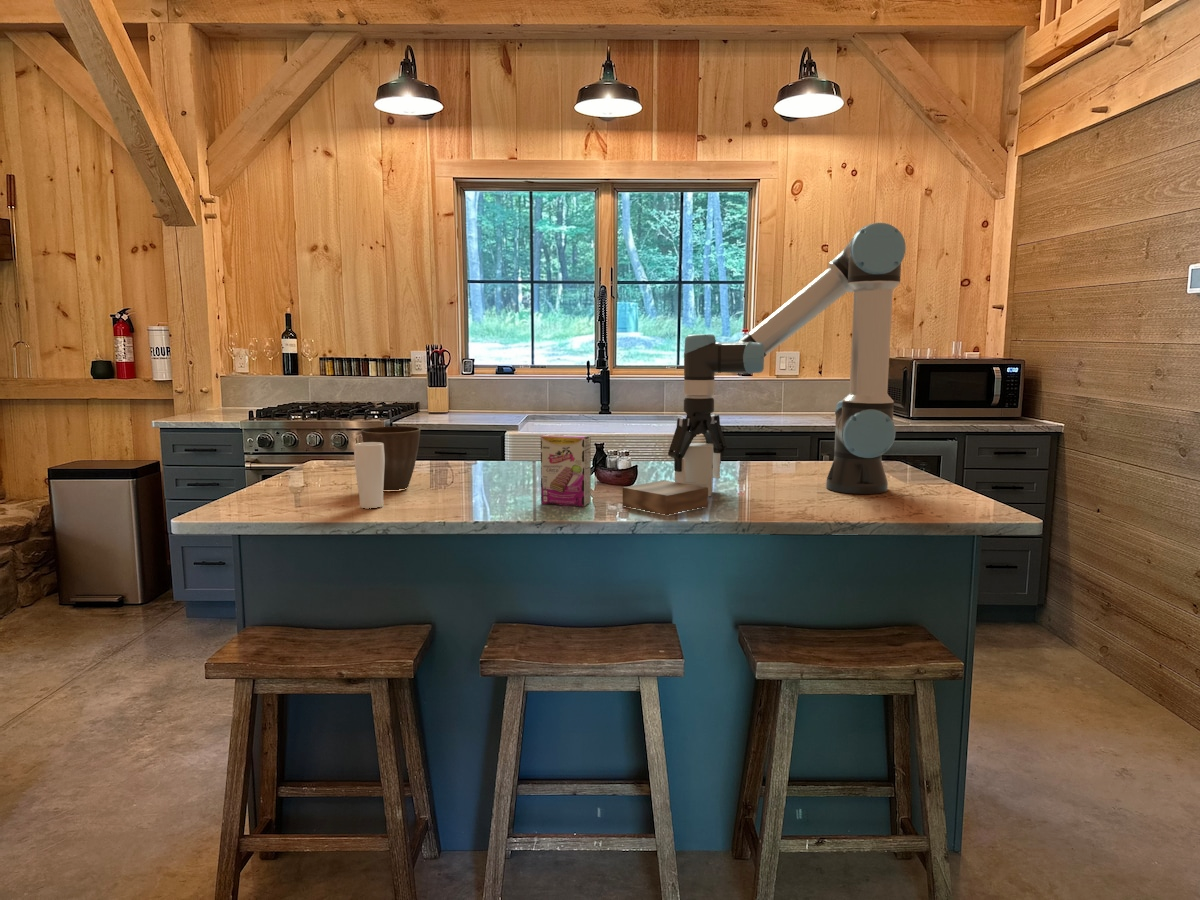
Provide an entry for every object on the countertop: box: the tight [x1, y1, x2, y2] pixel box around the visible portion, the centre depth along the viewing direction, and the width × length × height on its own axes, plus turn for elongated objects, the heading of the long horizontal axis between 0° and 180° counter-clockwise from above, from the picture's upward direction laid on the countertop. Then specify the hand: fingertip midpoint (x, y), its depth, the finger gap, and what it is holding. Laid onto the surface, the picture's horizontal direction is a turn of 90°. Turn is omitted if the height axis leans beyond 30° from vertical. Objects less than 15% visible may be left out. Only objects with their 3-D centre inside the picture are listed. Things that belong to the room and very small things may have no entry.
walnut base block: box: [622, 480, 709, 515], centre depth 182 cm, size 14×14×5 cm
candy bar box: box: [540, 433, 592, 508], centre depth 185 cm, size 11×5×16 cm, turn 71°
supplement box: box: [683, 442, 714, 497], centre depth 197 cm, size 7×7×13 cm
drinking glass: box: [353, 442, 385, 510], centre depth 182 cm, size 7×7×15 cm
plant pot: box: [360, 425, 421, 490], centre depth 204 cm, size 15×15×16 cm
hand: (697, 481), depth 197 cm, fingers open, 13 cm apart
